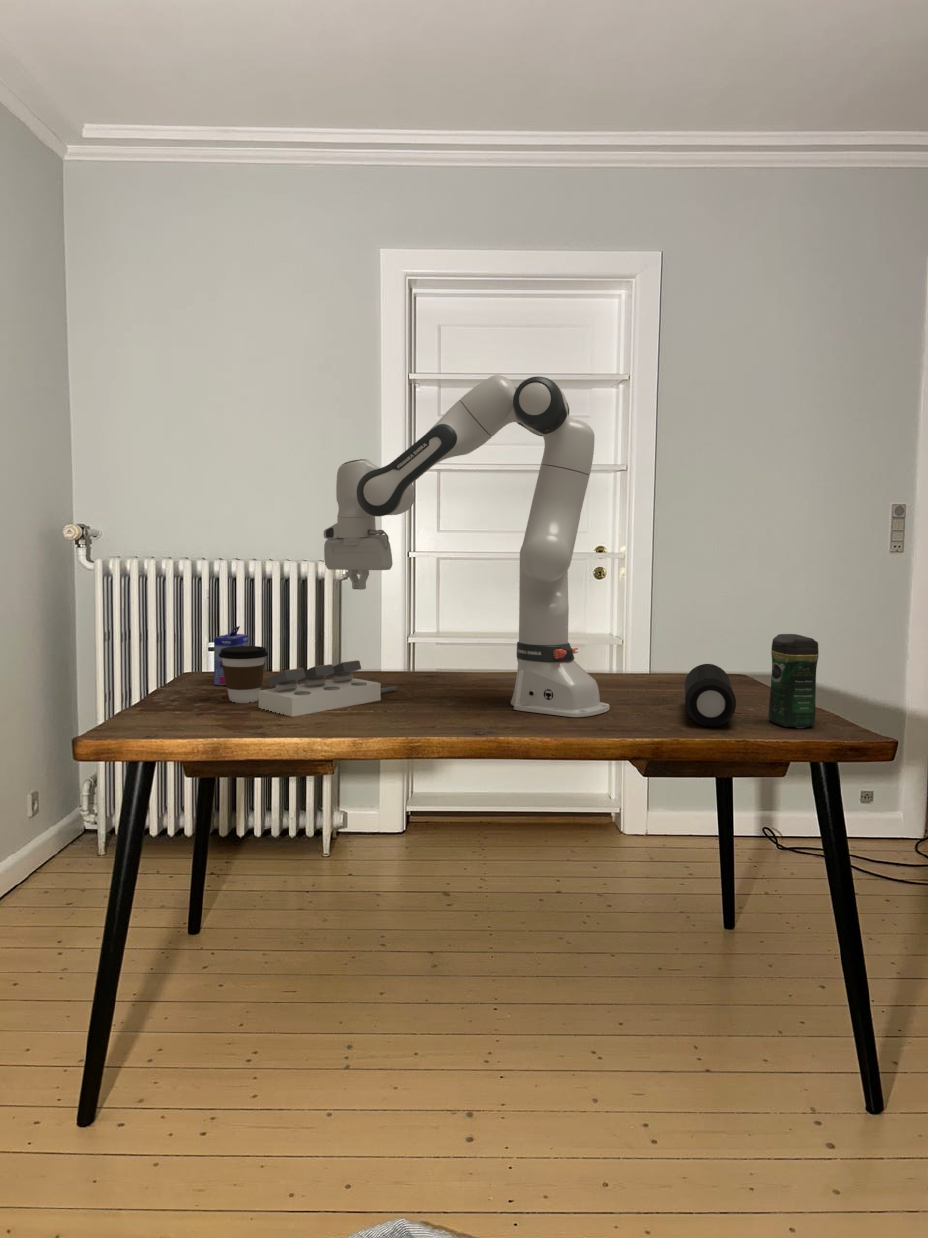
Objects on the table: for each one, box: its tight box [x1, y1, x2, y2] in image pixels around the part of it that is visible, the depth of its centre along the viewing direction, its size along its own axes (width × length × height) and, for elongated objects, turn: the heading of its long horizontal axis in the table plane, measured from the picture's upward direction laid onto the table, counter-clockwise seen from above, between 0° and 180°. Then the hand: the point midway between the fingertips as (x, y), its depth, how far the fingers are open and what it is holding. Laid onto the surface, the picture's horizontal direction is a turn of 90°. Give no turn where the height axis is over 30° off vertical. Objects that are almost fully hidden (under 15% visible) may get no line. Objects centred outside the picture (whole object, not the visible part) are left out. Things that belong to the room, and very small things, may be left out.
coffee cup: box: [219, 645, 269, 704], centre depth 201 cm, size 11×11×12 cm
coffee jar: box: [767, 633, 819, 729], centre depth 180 cm, size 10×8×19 cm
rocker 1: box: [266, 667, 306, 688], centre depth 193 cm, size 7×5×2 cm
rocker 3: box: [325, 659, 362, 679], centre depth 204 cm, size 7×5×2 cm
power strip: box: [258, 673, 398, 718], centre depth 201 cm, size 12×36×6 cm, turn 138°
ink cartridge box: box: [213, 625, 249, 686], centre depth 224 cm, size 10×6×14 cm, turn 171°
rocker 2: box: [297, 664, 334, 683], centre depth 198 cm, size 7×5×2 cm
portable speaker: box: [684, 663, 737, 728], centre depth 188 cm, size 26×10×10 cm, turn 166°
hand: (359, 589), depth 207 cm, fingers closed
